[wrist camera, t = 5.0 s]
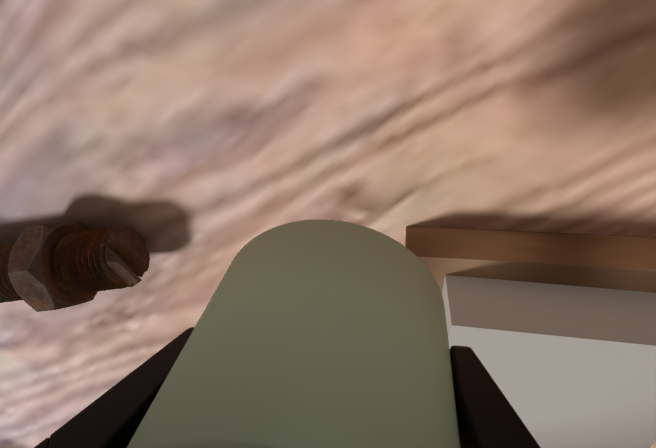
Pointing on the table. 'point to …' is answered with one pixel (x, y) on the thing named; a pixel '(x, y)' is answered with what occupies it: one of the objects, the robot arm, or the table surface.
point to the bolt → (69, 264)
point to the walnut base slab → (537, 257)
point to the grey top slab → (563, 356)
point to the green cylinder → (313, 350)
